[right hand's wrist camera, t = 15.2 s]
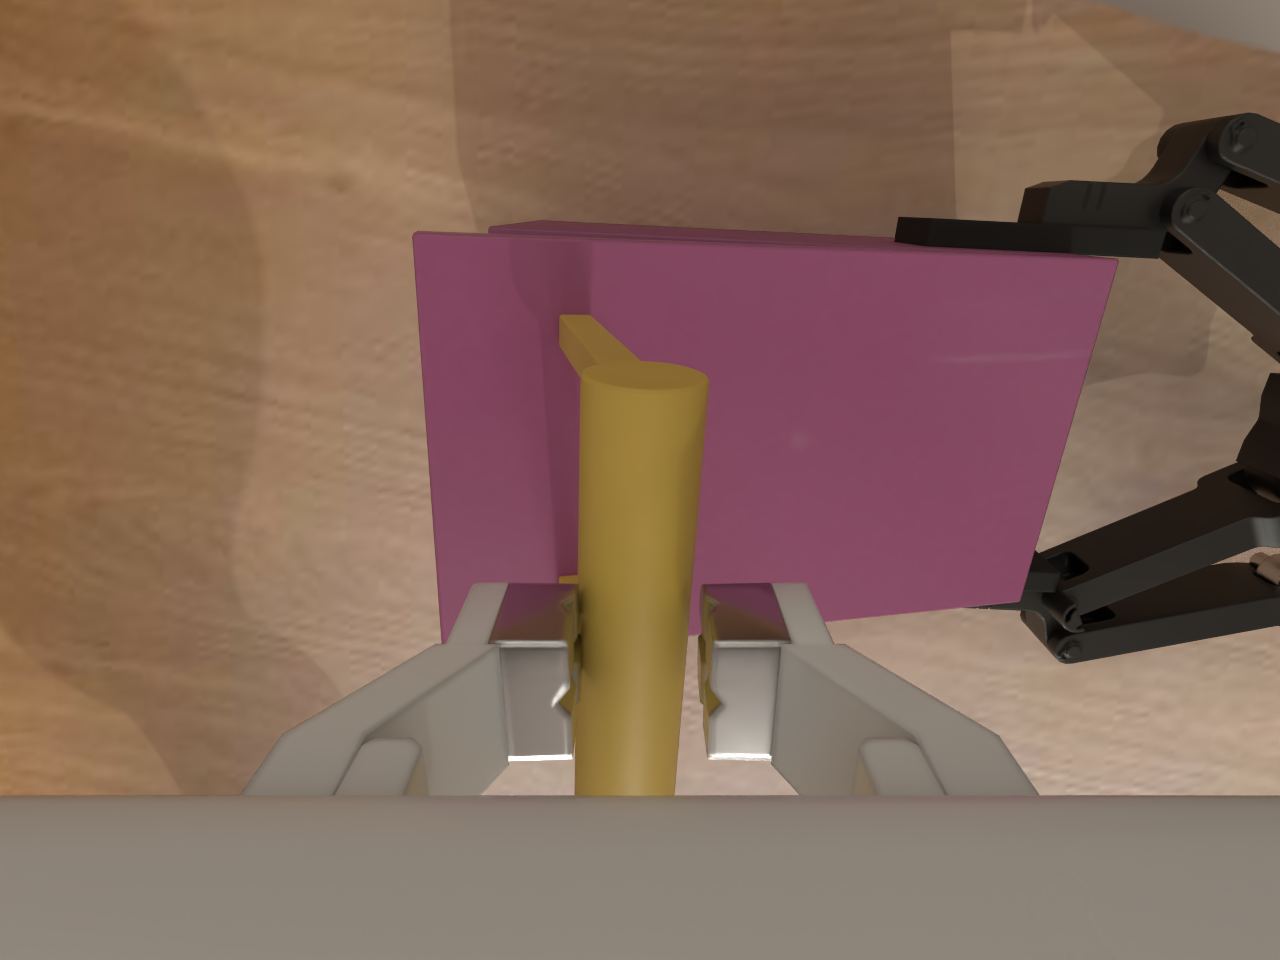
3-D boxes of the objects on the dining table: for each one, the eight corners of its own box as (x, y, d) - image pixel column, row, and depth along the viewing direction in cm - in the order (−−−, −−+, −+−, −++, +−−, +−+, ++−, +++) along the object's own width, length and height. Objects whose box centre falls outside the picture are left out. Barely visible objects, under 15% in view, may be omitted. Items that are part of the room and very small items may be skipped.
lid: (443, 643, 18) (433, 934, 11) (414, 230, 14) (368, 263, 7) (1001, 588, 22) (1259, 774, 15) (1093, 256, 18) (1495, 293, 11)
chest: (540, 466, 30) (498, 563, 22) (538, 220, 26) (487, 226, 18) (908, 484, 30) (1004, 588, 22) (958, 240, 26) (1096, 256, 18)
